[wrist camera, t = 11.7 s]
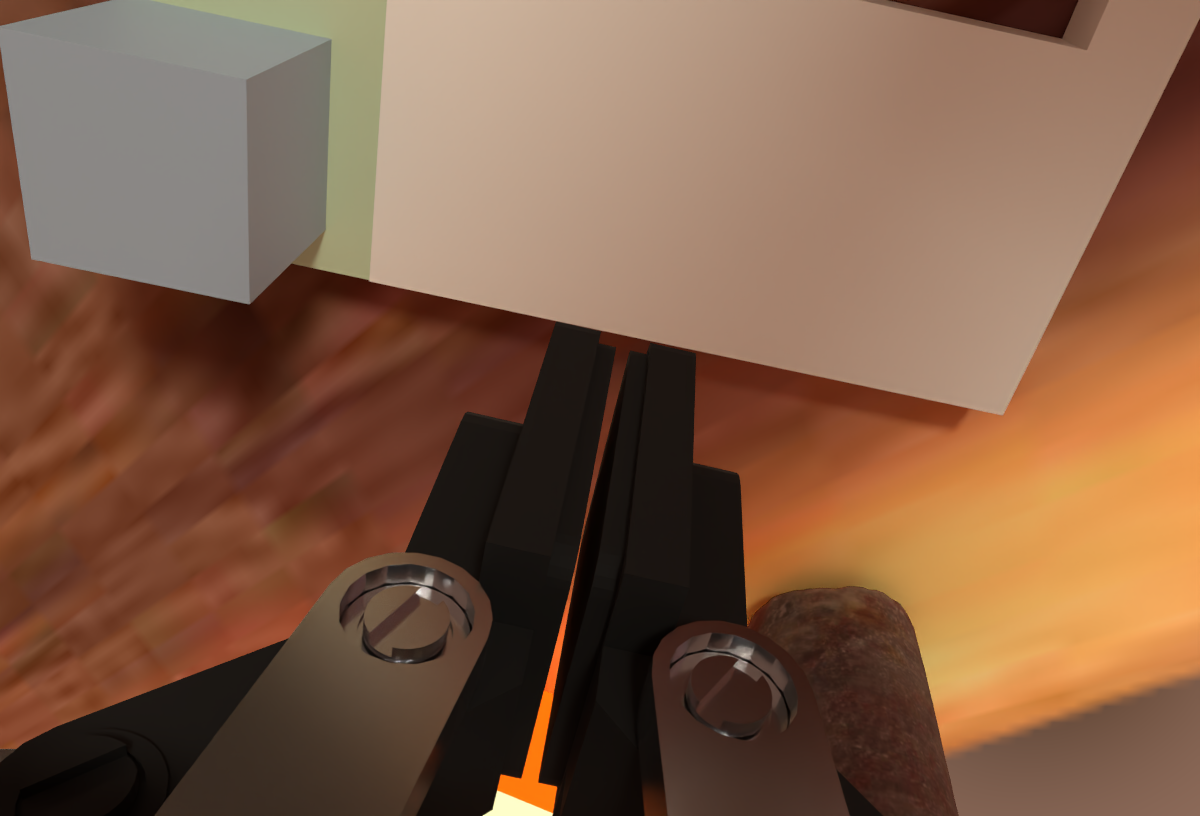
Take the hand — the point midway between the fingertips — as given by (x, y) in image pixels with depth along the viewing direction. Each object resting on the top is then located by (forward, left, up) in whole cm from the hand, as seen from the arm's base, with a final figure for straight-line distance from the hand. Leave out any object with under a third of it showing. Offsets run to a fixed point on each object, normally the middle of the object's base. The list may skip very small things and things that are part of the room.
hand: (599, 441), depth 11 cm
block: (+3, -13, -19) cm, 23 cm away
